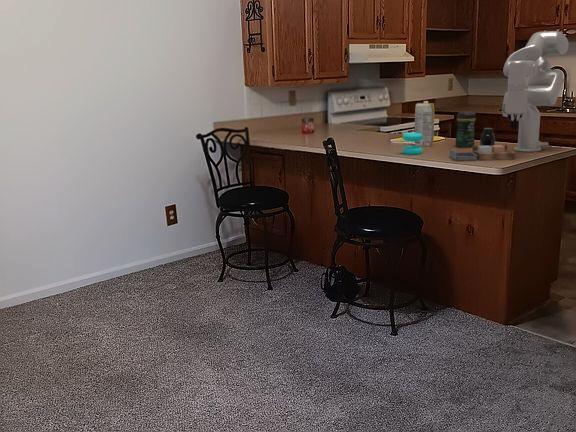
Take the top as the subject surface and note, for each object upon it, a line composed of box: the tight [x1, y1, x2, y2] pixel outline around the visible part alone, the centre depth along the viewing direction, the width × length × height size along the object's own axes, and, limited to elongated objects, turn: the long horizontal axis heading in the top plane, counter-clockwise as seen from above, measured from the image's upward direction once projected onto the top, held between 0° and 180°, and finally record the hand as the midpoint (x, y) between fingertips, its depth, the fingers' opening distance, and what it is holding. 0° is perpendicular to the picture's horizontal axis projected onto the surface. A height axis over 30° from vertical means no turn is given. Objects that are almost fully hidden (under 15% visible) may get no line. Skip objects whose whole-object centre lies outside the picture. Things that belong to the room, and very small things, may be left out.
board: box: [471, 144, 516, 161], centre depth 275 cm, size 16×12×5 cm
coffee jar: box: [455, 110, 477, 148], centre depth 310 cm, size 10×8×19 cm
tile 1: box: [477, 145, 492, 153], centre depth 275 cm, size 5×5×2 cm
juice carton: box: [414, 100, 435, 147], centre depth 319 cm, size 9×8×24 cm
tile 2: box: [491, 144, 505, 152], centre depth 275 cm, size 5×5×2 cm
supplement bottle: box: [479, 127, 496, 146], centre depth 290 cm, size 7×7×12 cm
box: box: [449, 148, 478, 162], centre depth 276 cm, size 10×12×4 cm
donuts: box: [401, 132, 423, 156], centre depth 296 cm, size 10×10×10 cm
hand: (513, 129), depth 272 cm, fingers closed
